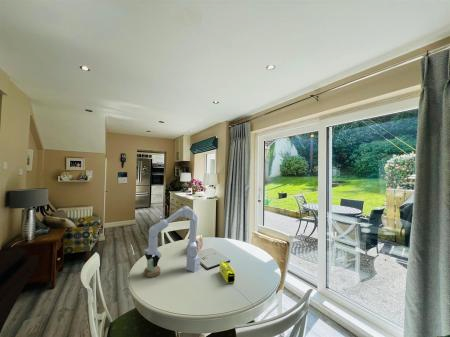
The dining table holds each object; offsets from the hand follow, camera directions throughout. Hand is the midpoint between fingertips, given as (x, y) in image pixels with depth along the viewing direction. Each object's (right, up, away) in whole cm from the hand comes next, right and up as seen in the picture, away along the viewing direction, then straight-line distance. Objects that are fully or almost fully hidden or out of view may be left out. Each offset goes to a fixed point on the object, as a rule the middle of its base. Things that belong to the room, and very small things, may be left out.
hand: (152, 265), depth 134 cm
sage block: (0, -3, 0) cm, 2 cm away
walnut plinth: (0, -6, 0) cm, 6 cm away
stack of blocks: (+24, -7, +42) cm, 49 cm away
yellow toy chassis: (+49, -8, -1) cm, 50 cm away
